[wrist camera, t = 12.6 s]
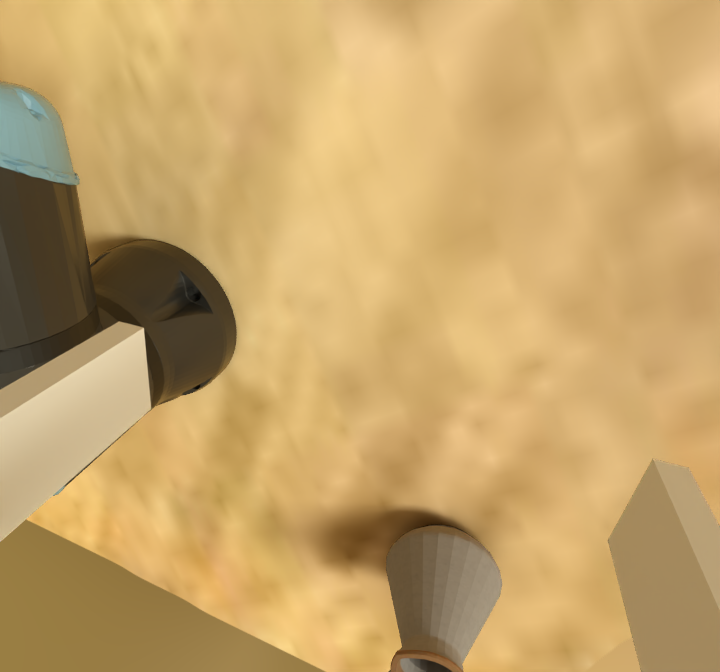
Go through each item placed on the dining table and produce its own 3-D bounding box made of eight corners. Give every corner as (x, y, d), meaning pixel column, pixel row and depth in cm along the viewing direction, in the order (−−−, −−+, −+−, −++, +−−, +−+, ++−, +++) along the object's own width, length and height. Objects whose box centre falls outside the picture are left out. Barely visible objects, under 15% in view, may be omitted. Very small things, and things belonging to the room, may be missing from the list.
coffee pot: (440, 492, 47) (416, 641, 34) (526, 562, 48) (536, 734, 35) (321, 577, 57) (268, 717, 44) (394, 634, 58) (362, 787, 45)
